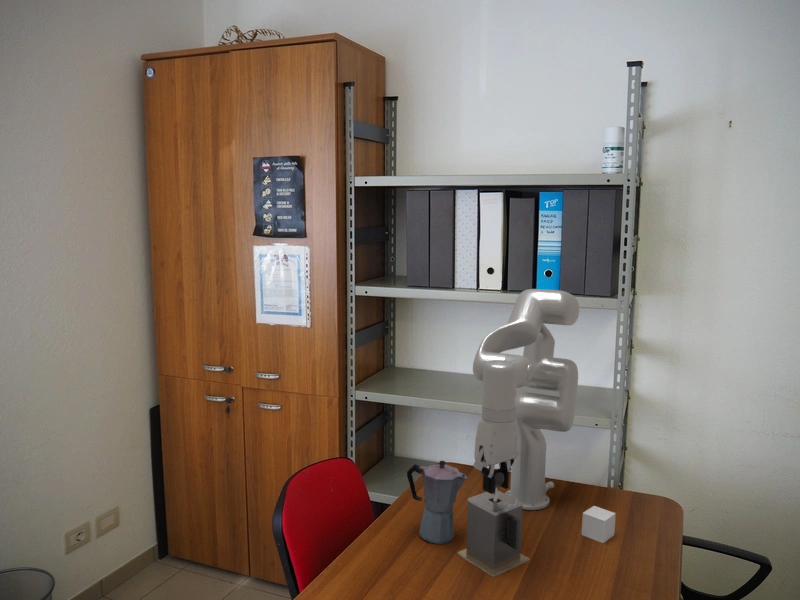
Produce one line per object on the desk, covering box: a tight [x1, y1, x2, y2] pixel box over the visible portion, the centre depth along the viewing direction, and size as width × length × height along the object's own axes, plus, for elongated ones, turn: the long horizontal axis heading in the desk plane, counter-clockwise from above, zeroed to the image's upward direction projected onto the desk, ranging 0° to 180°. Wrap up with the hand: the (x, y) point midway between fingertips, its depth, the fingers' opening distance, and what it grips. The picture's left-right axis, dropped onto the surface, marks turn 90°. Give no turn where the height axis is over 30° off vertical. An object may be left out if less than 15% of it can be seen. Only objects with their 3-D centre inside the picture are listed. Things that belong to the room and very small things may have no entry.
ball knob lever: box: [493, 468, 505, 503], centre depth 147 cm, size 6×6×17 cm
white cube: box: [581, 505, 617, 544], centre depth 160 cm, size 6×6×6 cm
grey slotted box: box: [456, 490, 530, 578], centre depth 148 cm, size 12×13×14 cm
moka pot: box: [406, 460, 468, 545], centre depth 158 cm, size 10×15×20 cm, turn 78°
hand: (495, 488), depth 147 cm, fingers closed on ball knob lever, 4 cm apart
